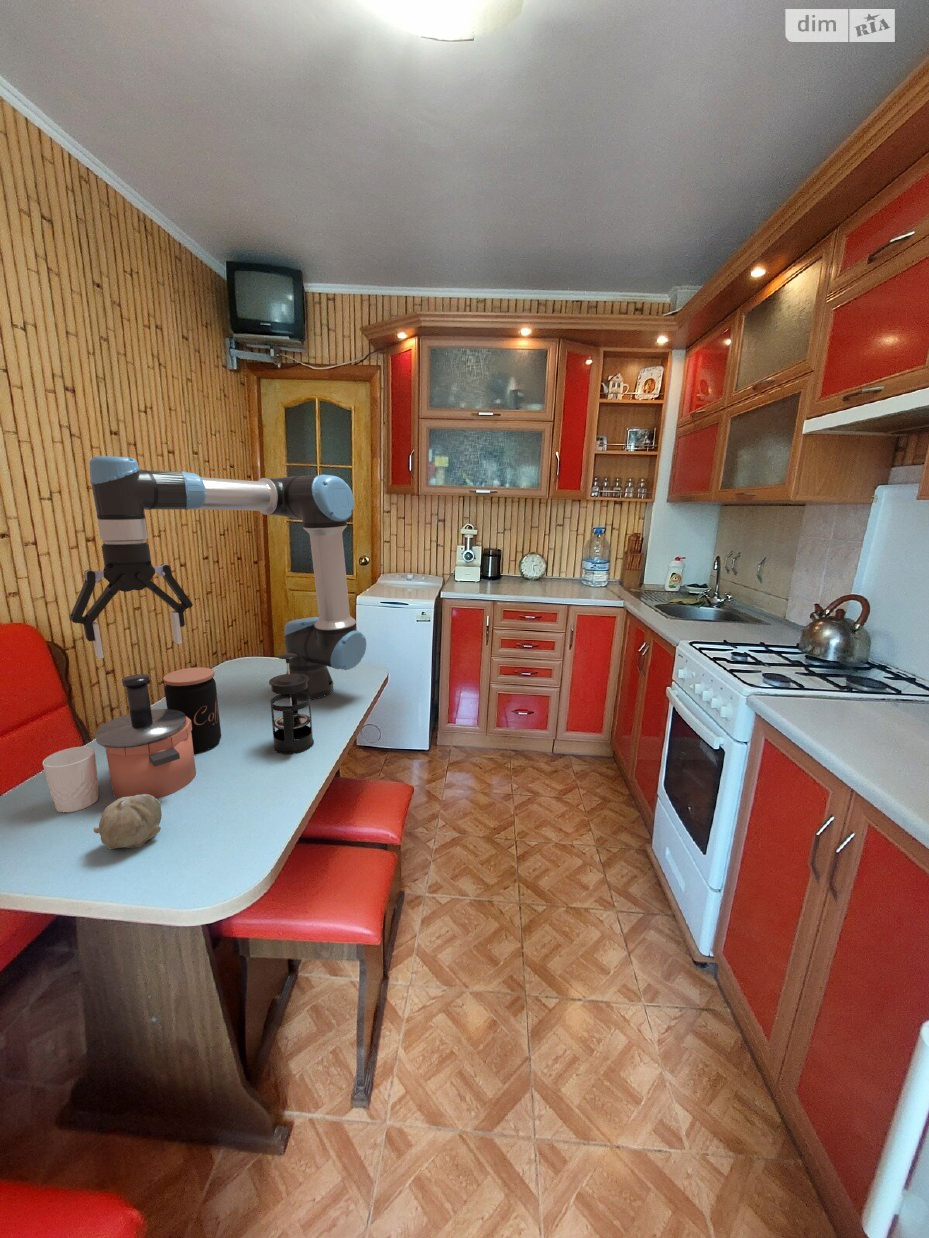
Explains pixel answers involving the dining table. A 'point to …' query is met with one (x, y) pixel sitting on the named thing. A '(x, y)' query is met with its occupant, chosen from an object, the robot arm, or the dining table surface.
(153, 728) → the lid
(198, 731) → the coffee jar
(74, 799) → the white cup
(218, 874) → the dining table surface
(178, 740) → the pot
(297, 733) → the french press
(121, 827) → the garlic bulb
